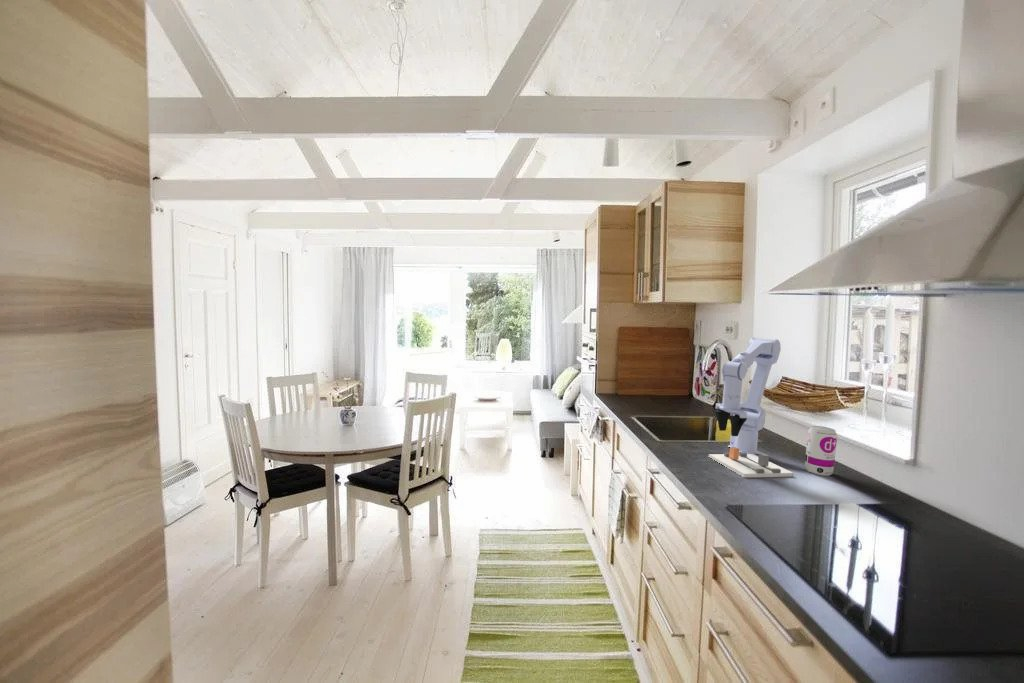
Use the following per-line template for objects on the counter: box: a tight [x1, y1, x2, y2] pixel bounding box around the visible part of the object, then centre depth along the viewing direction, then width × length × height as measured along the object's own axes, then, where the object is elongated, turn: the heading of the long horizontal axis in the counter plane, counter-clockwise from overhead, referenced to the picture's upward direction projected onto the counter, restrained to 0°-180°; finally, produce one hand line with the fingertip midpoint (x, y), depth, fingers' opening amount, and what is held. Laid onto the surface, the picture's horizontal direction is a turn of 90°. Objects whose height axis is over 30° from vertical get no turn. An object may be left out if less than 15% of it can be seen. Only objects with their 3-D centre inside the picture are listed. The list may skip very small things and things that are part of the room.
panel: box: [708, 452, 794, 478], centre depth 160 cm, size 19×18×2 cm
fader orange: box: [728, 447, 740, 459], centre depth 163 cm, size 2×2×4 cm
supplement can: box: [804, 425, 838, 477], centre depth 158 cm, size 8×8×15 cm
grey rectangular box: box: [758, 452, 770, 466], centre depth 157 cm, size 2×2×4 cm
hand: (728, 433), depth 166 cm, fingers open, 6 cm apart
